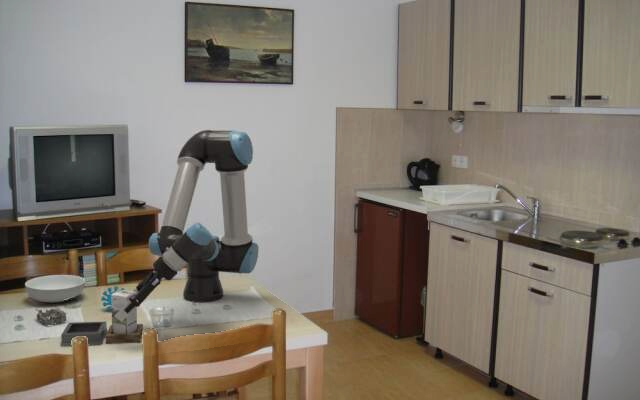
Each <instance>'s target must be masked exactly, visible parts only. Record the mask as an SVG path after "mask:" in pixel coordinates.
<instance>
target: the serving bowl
mask: <svg viewBox="0 0 640 400" xmlns="http://www.w3.org/2000/svg"><path fill="white" fill-rule="evenodd" d="M85 286H86V279H85V278H84V277H81V276H78V275H73V274H51V275H45V276H39V277H34V278H31V279H29V280H27V281H26V282H25V283H24V288H25V291H26V293H27V294H28V295H27V296H29V297H30V298H32V299H34V300H35V301H39V302H44V303H50V304H52V303H54V304H55V303H57V304H58V303H62V302H65V301H64V299H67V298H70V297H73V296H76V295H78V296H80V295H81V294H82V292H83V291H84V289H85Z"/></svg>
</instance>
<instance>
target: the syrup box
mask: <svg viewBox="0 0 640 400" xmlns="http://www.w3.org/2000/svg"><path fill="white" fill-rule="evenodd" d="M135 296H136V292H133V290H131V291H130V290H121V289H120V290H116V292H115V293H113V294H111V305H110V306H111V307H112V308H111V325H112V334H129V333H136V332H137V324H138V310H137V309H138V307H136V308H135V309H134V310H133V311H132V312H131V313H130V314H129V315H128V316H127V317H126V318H125V319H124V320H123V321H122V322H121V321H120V320H119V319H117V318H116V317H115V315H116V314H117V313H118V312H119V311H120V310H121V309H122V308H123V307H124V306H125V305H126V304H127V303H128V302H129V301H130V300H129V299H130V298H132V299H133V298H134V297H135Z"/></svg>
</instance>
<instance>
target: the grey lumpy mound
mask: <svg viewBox="0 0 640 400" xmlns="http://www.w3.org/2000/svg"><path fill="white" fill-rule="evenodd" d="M35 311H37V314H36V321H37V320H41V321H40V323H41V322H45V323H44V325H45V324H46V325H54V326H55V325H56V324H55V323H63V324H65V323H66V322H67V312H65V311H64V310H62V309H61V308H59V307H55V308H50V309H49V310H48V309H46V310H45V311H43V310H42V309H37V308H35ZM49 316H50V317H49ZM47 317H48V318H47ZM65 321H66V322H65ZM46 325H45V326H46Z"/></svg>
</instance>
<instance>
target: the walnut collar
mask: <svg viewBox="0 0 640 400" xmlns="http://www.w3.org/2000/svg"><path fill="white" fill-rule="evenodd" d="M107 331H108V332H107V334H106V336H105V344H126V343H127V344H129V343H130V344H131V343H133V344H134V343H140V342H141V341H142V340H141V339H142V337H141V335H142V336H143V333H142V331H143V332H144V325H143V323H137V332H136V333H129V334H112V324H110V325H109V327H108V329H107Z"/></svg>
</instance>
